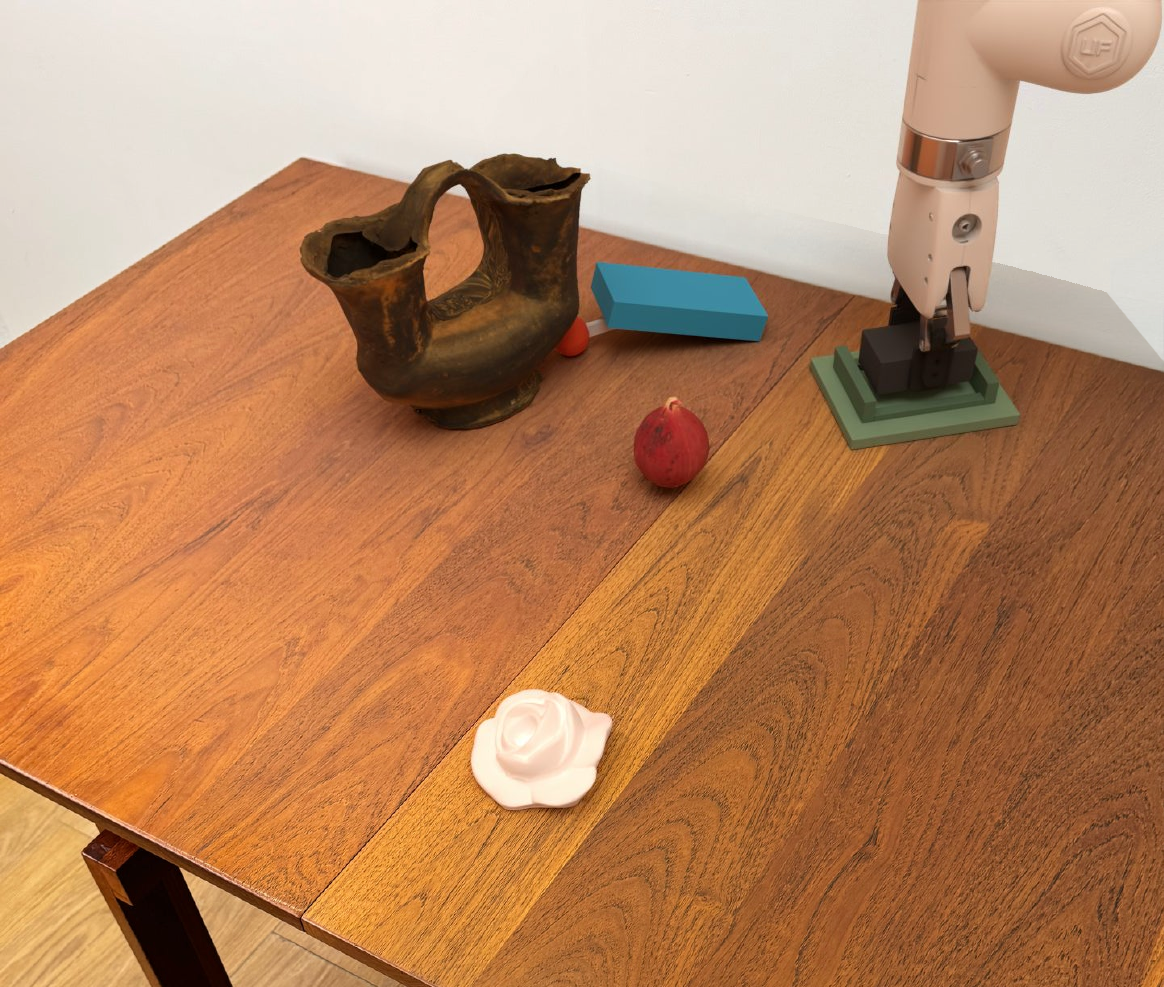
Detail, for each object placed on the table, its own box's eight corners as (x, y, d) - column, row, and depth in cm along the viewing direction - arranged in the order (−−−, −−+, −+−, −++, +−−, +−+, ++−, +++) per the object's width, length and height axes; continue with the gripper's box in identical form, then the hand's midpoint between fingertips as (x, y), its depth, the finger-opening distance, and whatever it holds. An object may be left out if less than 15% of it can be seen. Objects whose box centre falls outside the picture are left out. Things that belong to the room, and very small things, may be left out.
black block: (950, 348, 105) (956, 315, 103) (971, 381, 102) (978, 348, 100) (857, 361, 105) (862, 329, 102) (876, 395, 101) (881, 363, 99)
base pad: (965, 344, 109) (971, 313, 107) (1018, 424, 102) (1026, 393, 99) (809, 368, 108) (812, 336, 106) (850, 450, 101) (854, 419, 99)
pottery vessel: (390, 488, 101) (339, 255, 86) (319, 430, 107) (260, 201, 91) (624, 365, 110) (616, 134, 95) (548, 317, 116) (528, 92, 101)
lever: (722, 347, 119) (540, 331, 114) (745, 277, 114) (555, 257, 109) (744, 387, 115) (556, 373, 109) (768, 316, 110) (572, 298, 104)
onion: (675, 519, 97) (675, 432, 91) (619, 490, 99) (616, 403, 93) (722, 482, 99) (725, 395, 93) (667, 454, 102) (666, 368, 96)
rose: (647, 735, 77) (507, 801, 75) (648, 780, 81) (515, 844, 78) (568, 639, 83) (437, 697, 80) (573, 684, 86) (446, 741, 84)
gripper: (1051, 192, 84) (997, 422, 98) (961, 87, 95) (924, 308, 109) (942, 207, 83) (904, 436, 98) (864, 100, 94) (840, 320, 108)
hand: (915, 366), depth 103 cm, fingers closed on black block, 4 cm apart
